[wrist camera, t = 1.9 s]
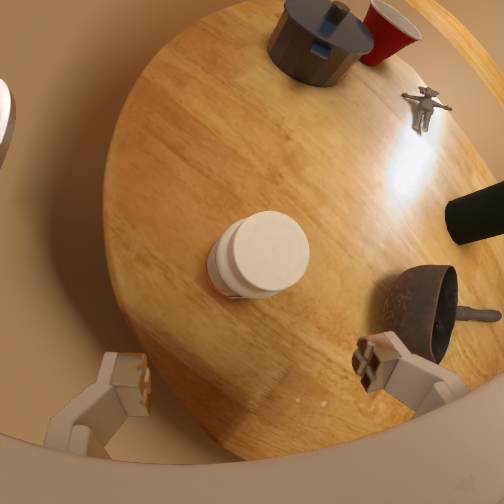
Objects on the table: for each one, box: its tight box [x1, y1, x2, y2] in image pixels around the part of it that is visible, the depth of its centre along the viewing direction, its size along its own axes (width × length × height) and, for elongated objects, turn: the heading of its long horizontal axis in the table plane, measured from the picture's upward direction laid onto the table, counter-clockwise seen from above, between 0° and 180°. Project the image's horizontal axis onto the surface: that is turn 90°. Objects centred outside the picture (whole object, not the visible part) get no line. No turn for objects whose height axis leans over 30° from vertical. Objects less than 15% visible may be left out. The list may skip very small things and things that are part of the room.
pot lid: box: [284, 0, 374, 55], centre depth 28 cm, size 14×14×4 cm
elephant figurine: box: [402, 87, 452, 132], centre depth 40 cm, size 10×6×9 cm
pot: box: [268, 10, 363, 87], centre depth 33 cm, size 13×18×8 cm
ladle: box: [383, 265, 502, 365], centre depth 35 cm, size 12×38×10 cm, turn 84°
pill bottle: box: [205, 211, 310, 300], centre depth 24 cm, size 6×6×11 cm
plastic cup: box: [359, 0, 423, 66], centre depth 36 cm, size 11×11×12 cm
